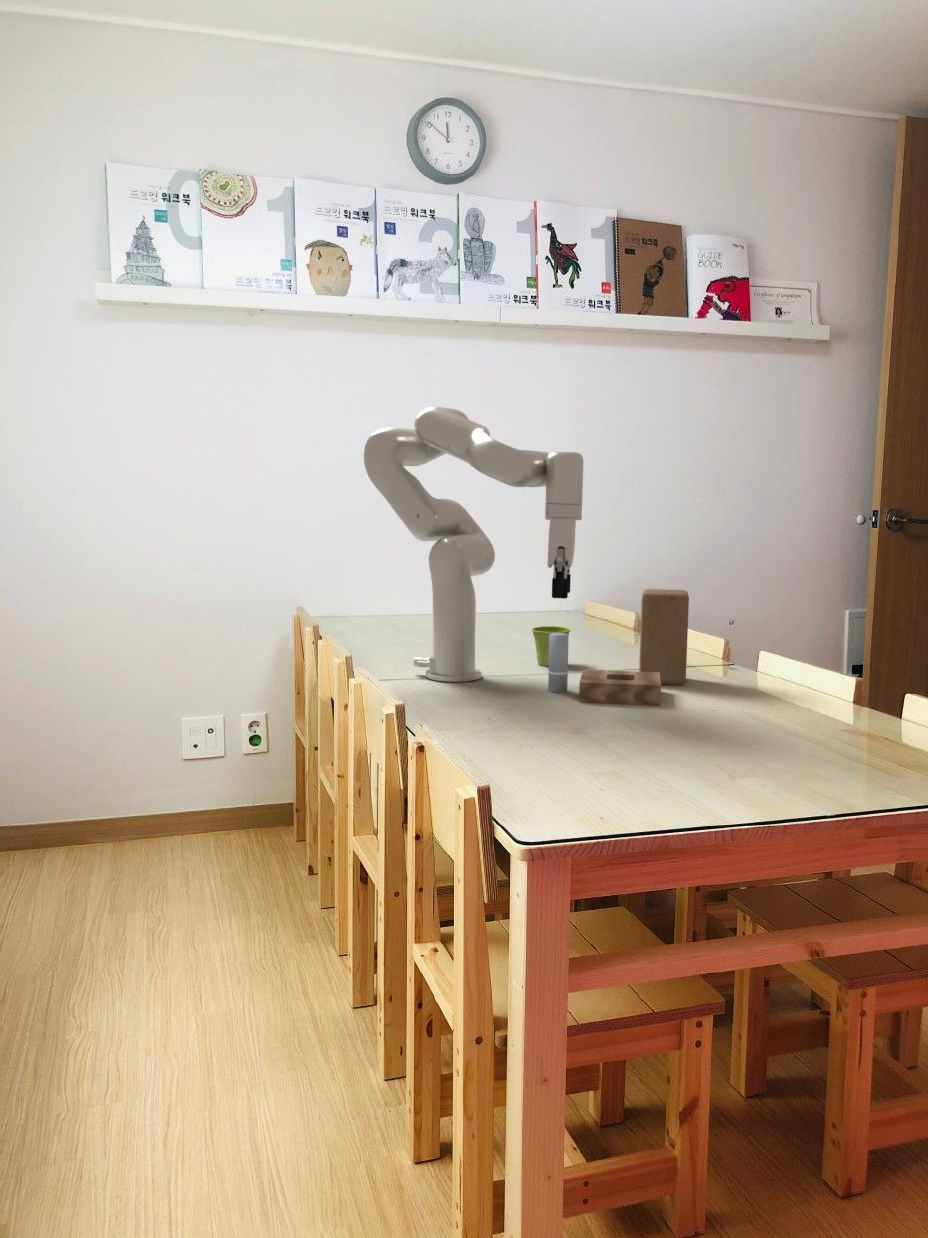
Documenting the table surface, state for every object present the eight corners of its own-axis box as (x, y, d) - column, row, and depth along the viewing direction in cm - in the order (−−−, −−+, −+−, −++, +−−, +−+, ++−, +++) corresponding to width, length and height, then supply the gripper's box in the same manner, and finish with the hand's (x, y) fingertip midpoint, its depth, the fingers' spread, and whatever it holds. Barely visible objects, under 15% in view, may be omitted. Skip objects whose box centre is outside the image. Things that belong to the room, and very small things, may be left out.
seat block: (579, 702, 203) (579, 682, 203) (582, 687, 217) (583, 669, 216) (660, 705, 200) (661, 685, 200) (658, 690, 214) (659, 672, 214)
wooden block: (685, 686, 219) (689, 594, 216) (638, 684, 221) (641, 593, 218) (685, 677, 229) (688, 589, 226) (640, 675, 231) (642, 588, 228)
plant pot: (551, 669, 237) (551, 633, 236) (522, 664, 244) (523, 628, 243) (578, 665, 243) (579, 629, 242) (549, 659, 250) (550, 624, 249)
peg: (546, 692, 212) (548, 635, 210) (548, 688, 216) (549, 632, 214) (567, 693, 211) (568, 636, 210) (568, 689, 215) (569, 633, 214)
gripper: (548, 510, 218) (546, 590, 220) (542, 513, 201) (539, 599, 203) (583, 511, 217) (580, 591, 219) (580, 514, 200) (577, 601, 202)
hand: (561, 595), depth 211 cm, fingers open, 9 cm apart
